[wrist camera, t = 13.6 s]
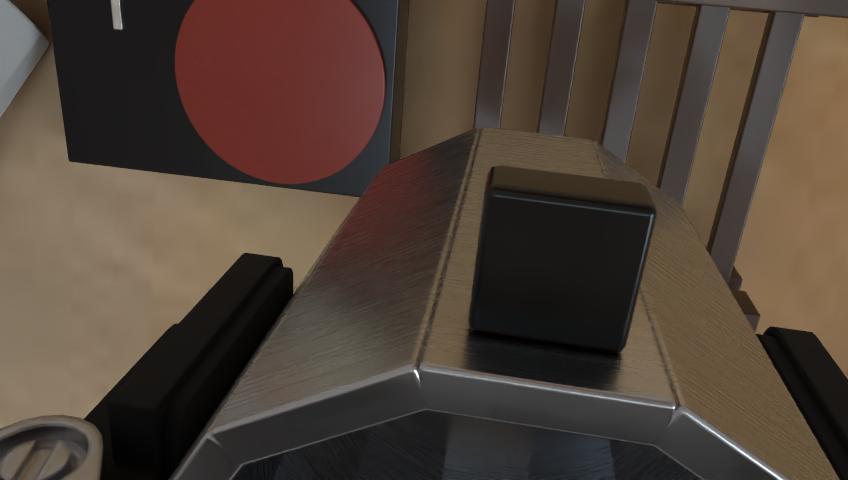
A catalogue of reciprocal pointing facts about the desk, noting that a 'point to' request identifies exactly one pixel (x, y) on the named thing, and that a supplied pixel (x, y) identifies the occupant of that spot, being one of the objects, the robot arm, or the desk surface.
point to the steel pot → (510, 337)
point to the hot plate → (281, 84)
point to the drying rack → (713, 5)
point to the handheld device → (17, 50)
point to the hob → (159, 97)
